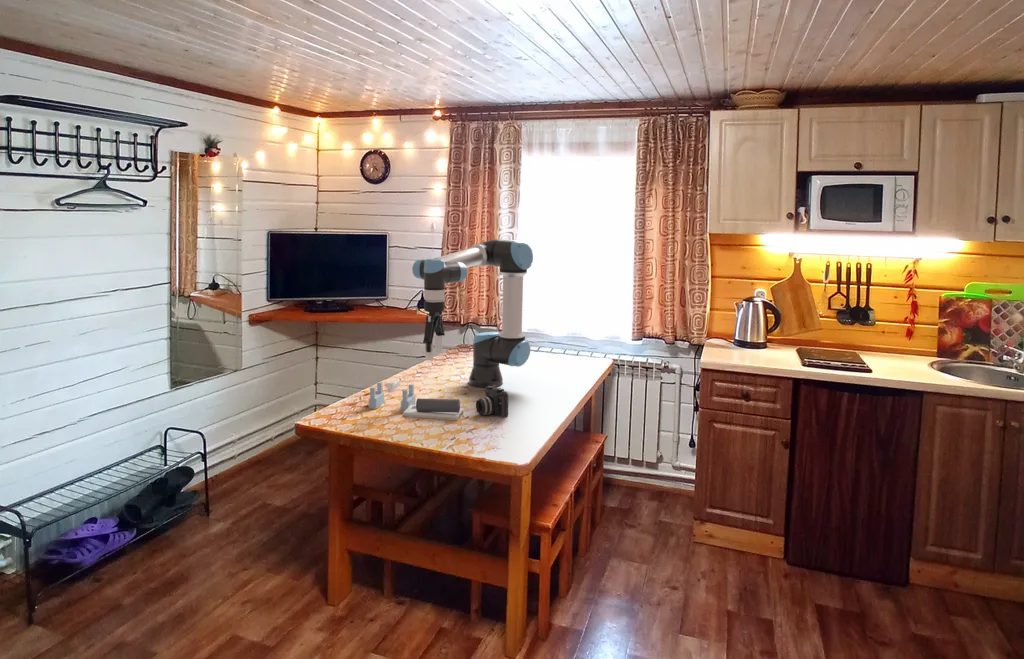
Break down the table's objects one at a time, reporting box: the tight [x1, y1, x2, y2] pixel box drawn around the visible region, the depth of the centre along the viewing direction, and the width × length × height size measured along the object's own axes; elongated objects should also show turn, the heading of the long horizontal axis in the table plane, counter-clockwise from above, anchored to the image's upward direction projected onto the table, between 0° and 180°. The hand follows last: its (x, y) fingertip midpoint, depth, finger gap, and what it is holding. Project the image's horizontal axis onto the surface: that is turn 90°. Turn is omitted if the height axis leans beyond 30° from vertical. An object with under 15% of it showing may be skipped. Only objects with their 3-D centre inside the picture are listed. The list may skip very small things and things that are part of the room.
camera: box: [475, 385, 509, 418], centre depth 269 cm, size 14×11×10 cm
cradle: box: [368, 381, 416, 412], centre depth 274 cm, size 16×10×8 cm, turn 81°
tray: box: [402, 404, 464, 421], centre depth 266 cm, size 21×10×2 cm, turn 81°
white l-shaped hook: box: [385, 380, 401, 393], centre depth 265 cm, size 2×10×4 cm, turn 171°
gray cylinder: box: [415, 398, 461, 412], centre depth 265 cm, size 16×5×5 cm, turn 81°
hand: (434, 356), depth 262 cm, fingers open, 13 cm apart
